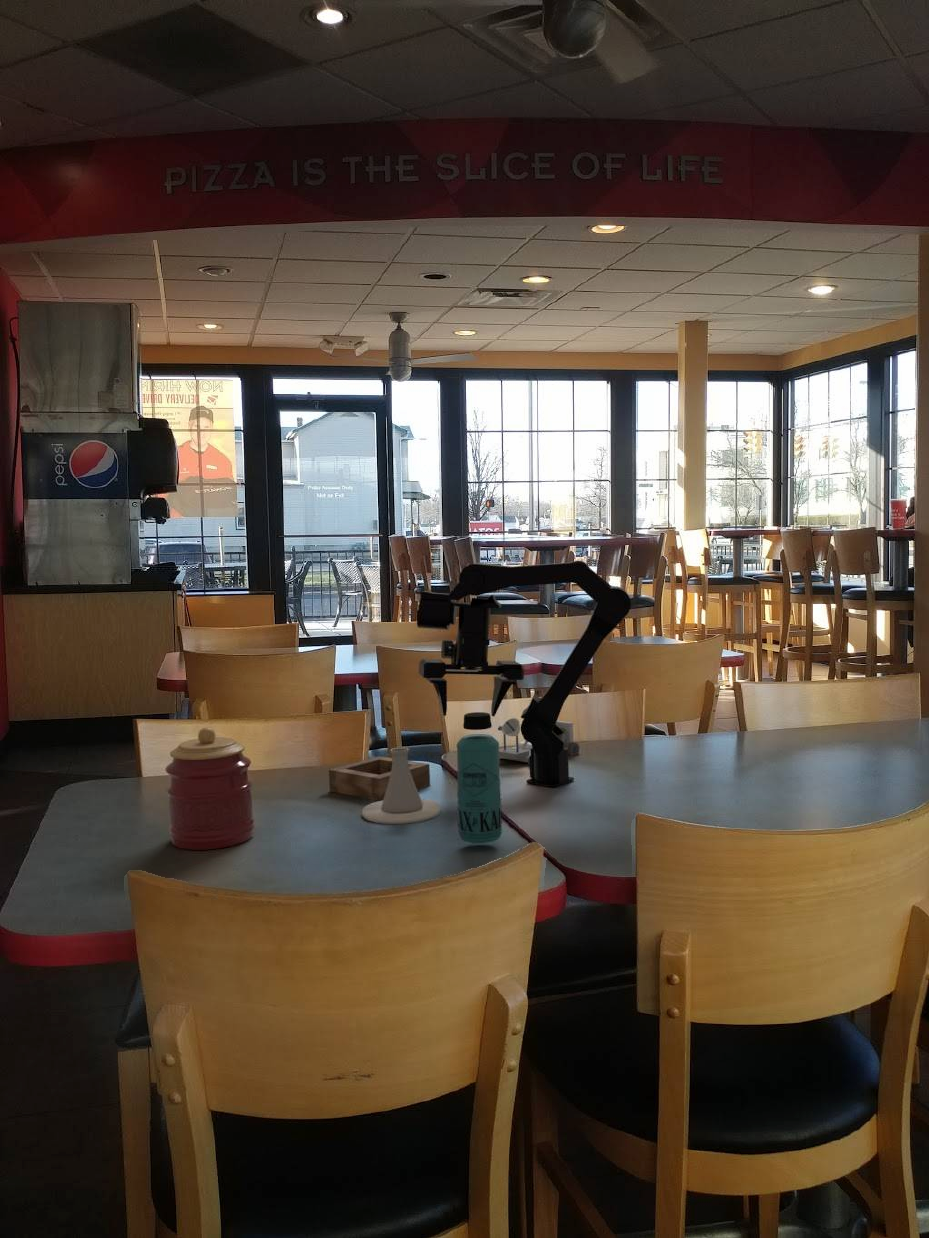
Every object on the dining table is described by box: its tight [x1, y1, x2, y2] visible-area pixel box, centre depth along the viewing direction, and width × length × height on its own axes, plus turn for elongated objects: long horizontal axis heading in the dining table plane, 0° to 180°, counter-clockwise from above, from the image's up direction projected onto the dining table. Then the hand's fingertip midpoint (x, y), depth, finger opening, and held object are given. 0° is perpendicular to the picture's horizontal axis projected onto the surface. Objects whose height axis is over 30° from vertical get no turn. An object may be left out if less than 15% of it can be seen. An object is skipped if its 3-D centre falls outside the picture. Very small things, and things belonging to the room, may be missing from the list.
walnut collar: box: [328, 755, 431, 802], centre depth 190 cm, size 13×13×4 cm
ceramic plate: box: [361, 798, 441, 825], centre depth 173 cm, size 13×13×1 cm
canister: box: [165, 727, 255, 851], centre depth 162 cm, size 13×13×18 cm
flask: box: [381, 747, 423, 813], centre depth 173 cm, size 7×7×10 cm
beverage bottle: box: [456, 711, 503, 844], centre depth 152 cm, size 6×7×20 cm
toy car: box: [497, 717, 580, 767], centre depth 211 cm, size 18×10×12 cm
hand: (468, 715), depth 191 cm, fingers open, 9 cm apart
